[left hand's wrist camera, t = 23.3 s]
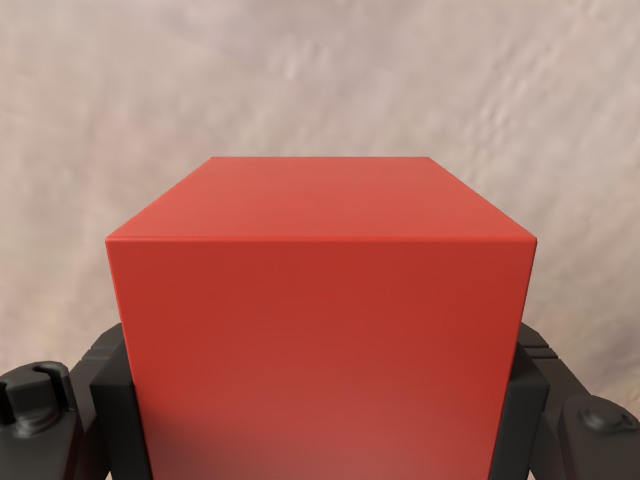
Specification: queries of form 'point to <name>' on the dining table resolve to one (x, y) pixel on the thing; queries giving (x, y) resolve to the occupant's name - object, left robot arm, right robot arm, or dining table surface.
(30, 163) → the dining table surface
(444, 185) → the cube
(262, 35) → the dining table surface
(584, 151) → the dining table surface
